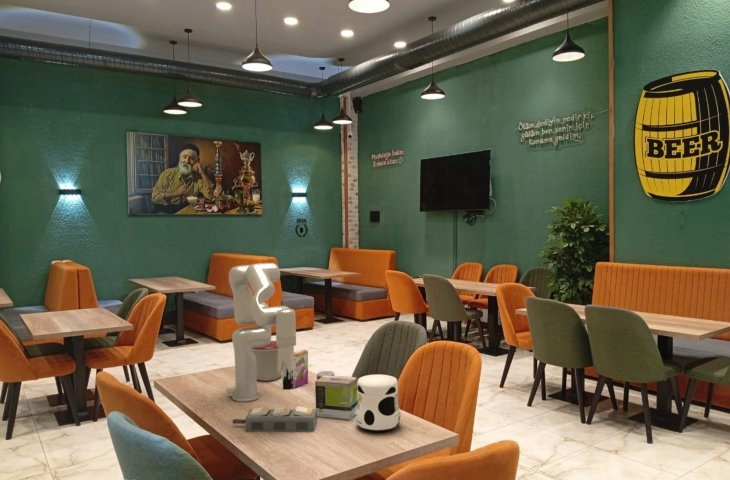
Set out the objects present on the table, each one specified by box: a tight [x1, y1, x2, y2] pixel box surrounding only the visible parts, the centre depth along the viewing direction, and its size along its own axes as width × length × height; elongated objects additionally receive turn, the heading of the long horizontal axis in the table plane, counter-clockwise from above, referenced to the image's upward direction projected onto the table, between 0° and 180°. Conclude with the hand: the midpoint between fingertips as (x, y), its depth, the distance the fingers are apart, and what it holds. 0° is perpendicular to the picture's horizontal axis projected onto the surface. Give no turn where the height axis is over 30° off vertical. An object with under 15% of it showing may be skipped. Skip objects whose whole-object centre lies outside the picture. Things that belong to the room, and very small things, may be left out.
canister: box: [251, 340, 282, 382], centre depth 272 cm, size 18×18×21 cm
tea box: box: [314, 375, 358, 421], centre depth 220 cm, size 15×10×15 cm
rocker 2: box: [272, 405, 292, 416], centre depth 207 cm, size 6×5×2 cm
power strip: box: [232, 408, 318, 432], centre depth 207 cm, size 32×9×5 cm, turn 87°
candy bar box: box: [291, 349, 309, 390], centre depth 260 cm, size 11×5×16 cm, turn 144°
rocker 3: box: [295, 405, 314, 416], centre depth 207 cm, size 6×5×2 cm
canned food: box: [316, 370, 335, 380], centre depth 241 cm, size 8×8×11 cm
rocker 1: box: [250, 405, 270, 416], centre depth 208 cm, size 6×5×2 cm
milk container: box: [354, 374, 401, 432], centre depth 206 cm, size 17×17×18 cm
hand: (287, 388), depth 207 cm, fingers closed
